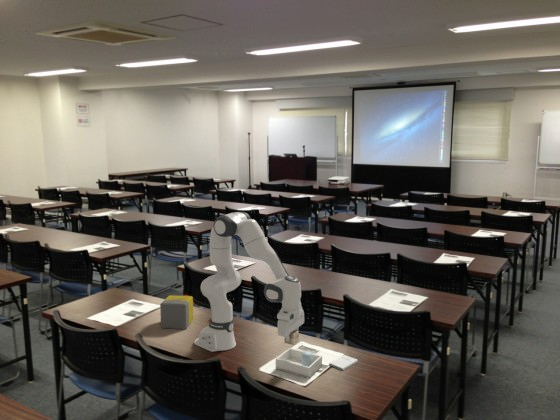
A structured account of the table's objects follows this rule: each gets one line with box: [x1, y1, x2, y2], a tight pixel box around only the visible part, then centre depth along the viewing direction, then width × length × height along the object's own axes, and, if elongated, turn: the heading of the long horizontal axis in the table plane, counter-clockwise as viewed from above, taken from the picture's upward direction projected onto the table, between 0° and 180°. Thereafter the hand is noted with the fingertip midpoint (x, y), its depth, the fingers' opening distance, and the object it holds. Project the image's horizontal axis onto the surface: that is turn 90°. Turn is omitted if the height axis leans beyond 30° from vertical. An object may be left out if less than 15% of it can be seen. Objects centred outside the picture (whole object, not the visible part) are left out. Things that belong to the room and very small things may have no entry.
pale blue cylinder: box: [302, 350, 313, 367], centre depth 217 cm, size 5×5×7 cm
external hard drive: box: [328, 354, 359, 371], centre depth 224 cm, size 2×8×12 cm
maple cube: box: [284, 330, 300, 346], centre depth 220 cm, size 5×5×5 cm
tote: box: [275, 347, 323, 379], centre depth 219 cm, size 18×14×5 cm
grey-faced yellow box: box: [159, 294, 195, 330], centre depth 275 cm, size 15×24×15 cm, turn 174°
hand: (291, 338), depth 220 cm, fingers closed on maple cube, 5 cm apart
